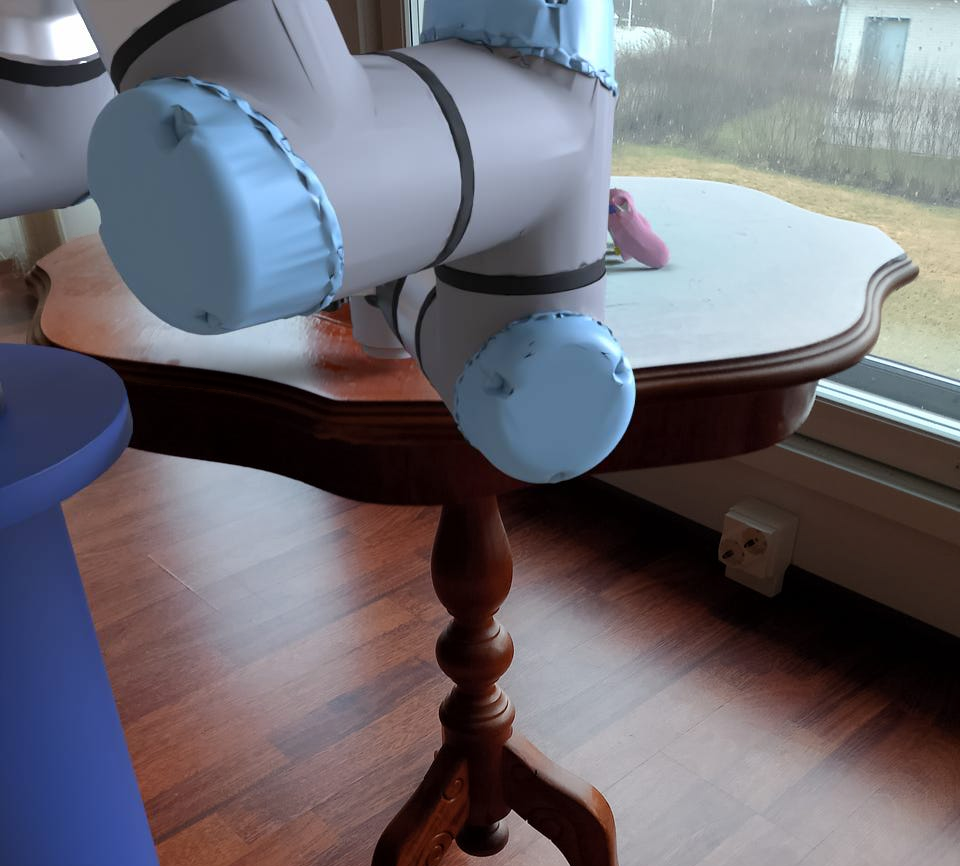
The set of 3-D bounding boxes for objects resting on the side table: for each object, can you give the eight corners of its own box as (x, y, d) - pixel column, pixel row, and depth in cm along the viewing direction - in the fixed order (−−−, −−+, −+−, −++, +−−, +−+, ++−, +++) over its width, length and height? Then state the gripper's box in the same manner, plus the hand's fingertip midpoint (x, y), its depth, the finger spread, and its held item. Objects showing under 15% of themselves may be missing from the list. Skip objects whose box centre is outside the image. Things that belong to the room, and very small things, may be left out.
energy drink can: (412, 327, 79) (399, 104, 71) (454, 350, 75) (447, 115, 67) (339, 343, 77) (317, 113, 68) (379, 368, 73) (360, 126, 64)
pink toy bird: (610, 259, 103) (580, 192, 100) (654, 235, 102) (624, 166, 99) (628, 289, 95) (595, 217, 92) (675, 263, 94) (644, 189, 91)
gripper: (294, 398, 57) (245, 280, 76) (623, 356, 62) (501, 254, 80) (276, 254, 53) (228, 166, 71) (631, 220, 57) (500, 145, 76)
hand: (372, 213), depth 76 cm, fingers closed on energy drink can, 6 cm apart
